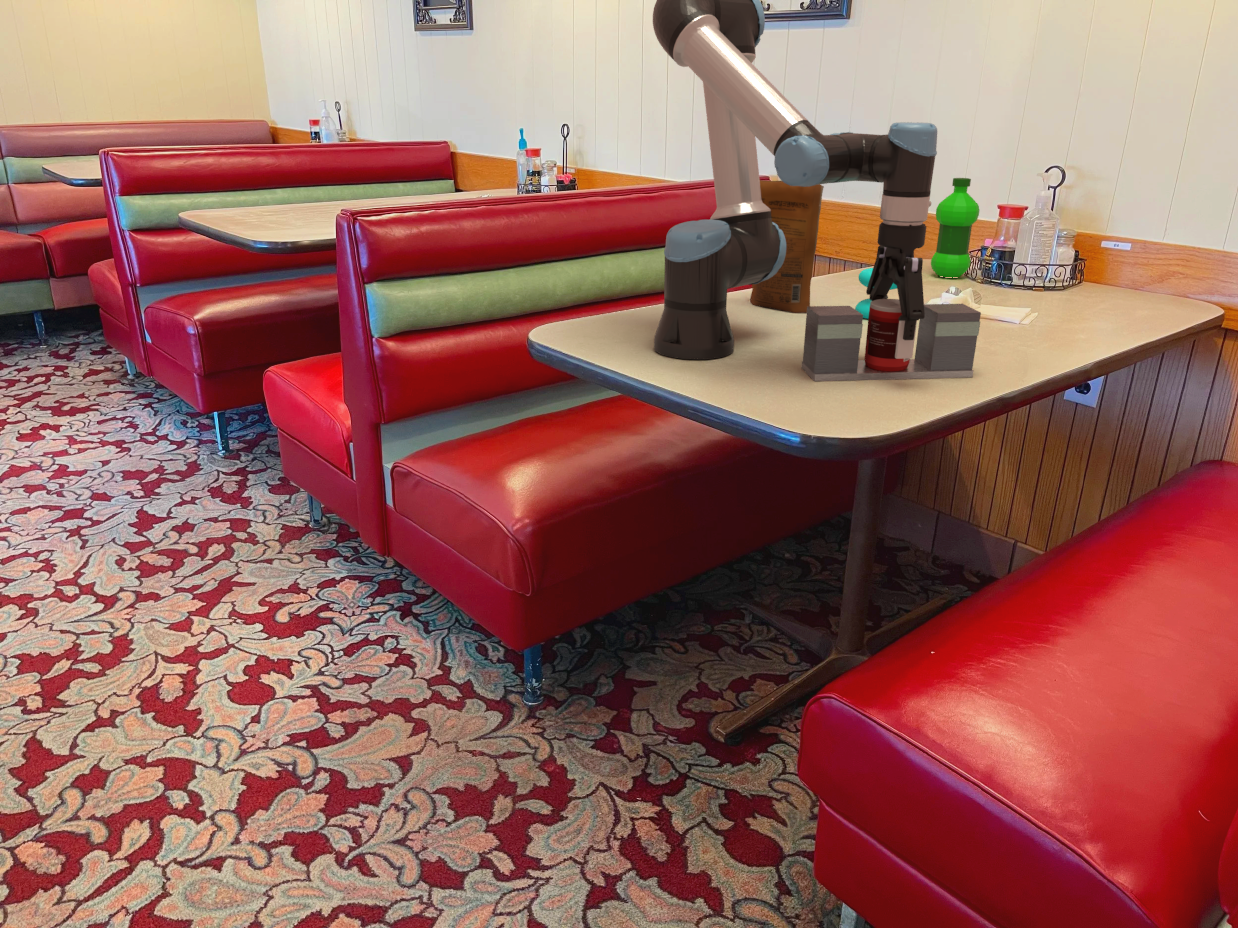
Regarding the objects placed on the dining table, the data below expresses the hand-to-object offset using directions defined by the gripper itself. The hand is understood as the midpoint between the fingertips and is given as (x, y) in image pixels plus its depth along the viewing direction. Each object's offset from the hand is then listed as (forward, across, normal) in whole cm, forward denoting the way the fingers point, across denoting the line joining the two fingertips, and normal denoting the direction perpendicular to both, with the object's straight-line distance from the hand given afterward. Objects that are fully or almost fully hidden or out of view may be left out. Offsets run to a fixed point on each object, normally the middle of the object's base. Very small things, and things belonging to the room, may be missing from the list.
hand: (888, 347), depth 161 cm
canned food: (+3, 0, 0) cm, 3 cm away
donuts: (+5, +42, -14) cm, 45 cm away
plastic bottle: (+5, +85, -49) cm, 98 cm away
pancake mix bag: (+5, +52, +6) cm, 53 cm away
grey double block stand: (+4, 0, 0) cm, 4 cm away
